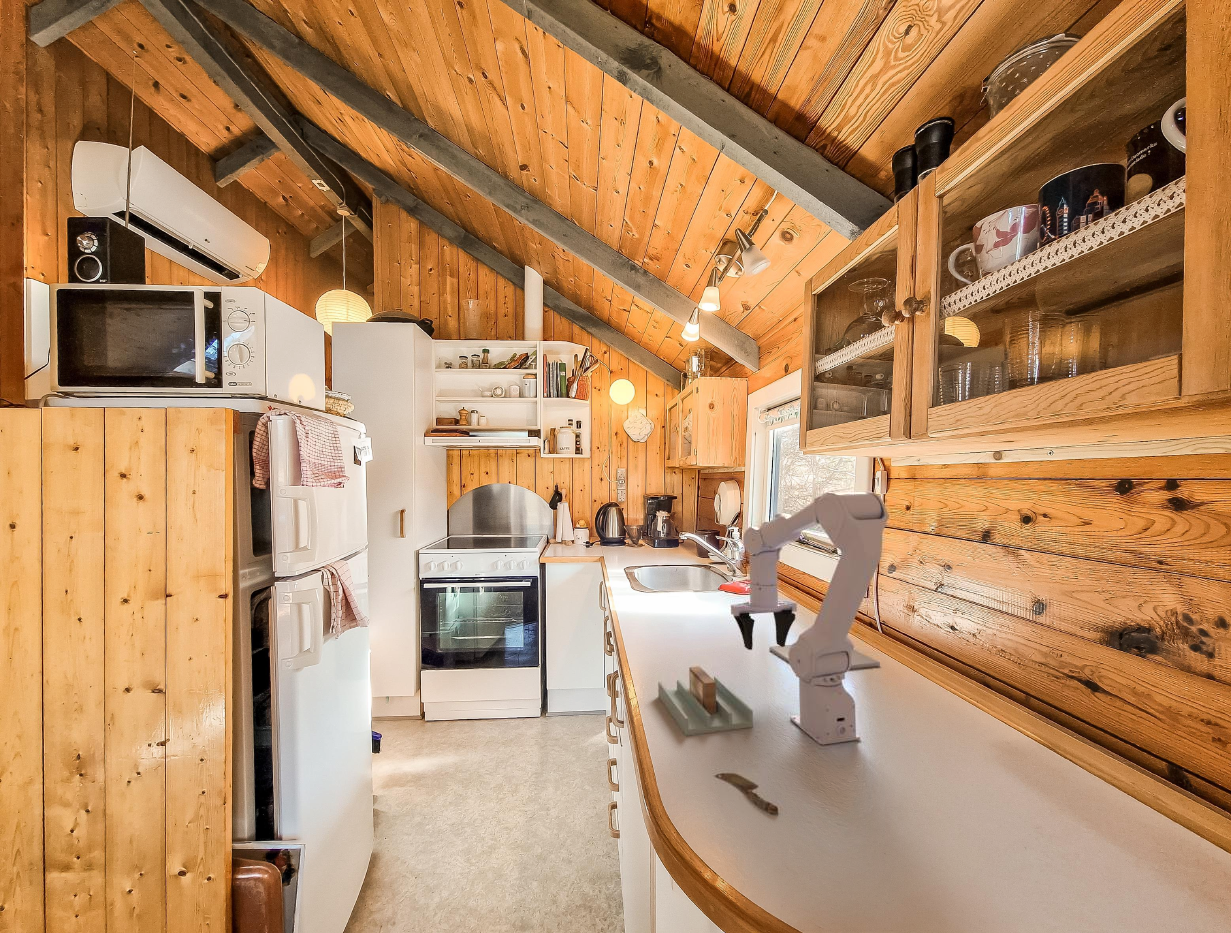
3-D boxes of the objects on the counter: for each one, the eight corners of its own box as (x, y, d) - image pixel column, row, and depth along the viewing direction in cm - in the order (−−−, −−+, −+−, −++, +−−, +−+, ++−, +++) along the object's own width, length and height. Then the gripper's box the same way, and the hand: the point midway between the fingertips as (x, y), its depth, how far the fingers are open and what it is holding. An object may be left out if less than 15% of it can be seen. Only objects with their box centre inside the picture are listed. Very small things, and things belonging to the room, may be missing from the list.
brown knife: (737, 768, 77) (709, 775, 75) (736, 760, 77) (708, 767, 75) (784, 814, 65) (752, 823, 64) (783, 805, 65) (752, 814, 64)
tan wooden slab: (716, 714, 91) (715, 682, 91) (704, 715, 91) (703, 683, 91) (699, 695, 99) (699, 666, 99) (688, 697, 98) (688, 667, 98)
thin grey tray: (769, 646, 128) (835, 640, 132) (769, 652, 128) (835, 646, 132) (805, 669, 112) (879, 662, 116) (805, 676, 112) (879, 668, 116)
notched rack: (752, 726, 88) (752, 710, 88) (685, 735, 85) (685, 718, 85) (716, 690, 104) (715, 675, 104) (658, 696, 101) (658, 681, 101)
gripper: (783, 577, 109) (784, 638, 109) (724, 581, 106) (725, 643, 106) (802, 584, 102) (803, 648, 102) (739, 588, 99) (740, 654, 99)
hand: (764, 646), depth 103 cm, fingers open, 7 cm apart
